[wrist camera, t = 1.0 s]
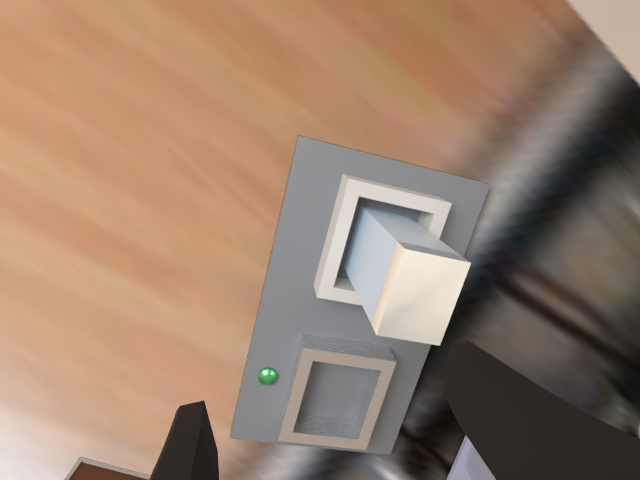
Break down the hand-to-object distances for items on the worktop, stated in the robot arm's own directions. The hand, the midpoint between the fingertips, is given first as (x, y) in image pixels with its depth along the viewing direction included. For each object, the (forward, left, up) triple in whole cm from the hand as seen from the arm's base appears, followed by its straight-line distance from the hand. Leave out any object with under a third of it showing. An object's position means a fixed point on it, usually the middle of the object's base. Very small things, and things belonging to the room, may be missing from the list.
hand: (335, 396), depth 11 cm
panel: (-4, +4, -14) cm, 15 cm away
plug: (-4, -1, -13) cm, 14 cm away
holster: (-4, -1, -14) cm, 15 cm away
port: (-3, +9, -13) cm, 16 cm away
